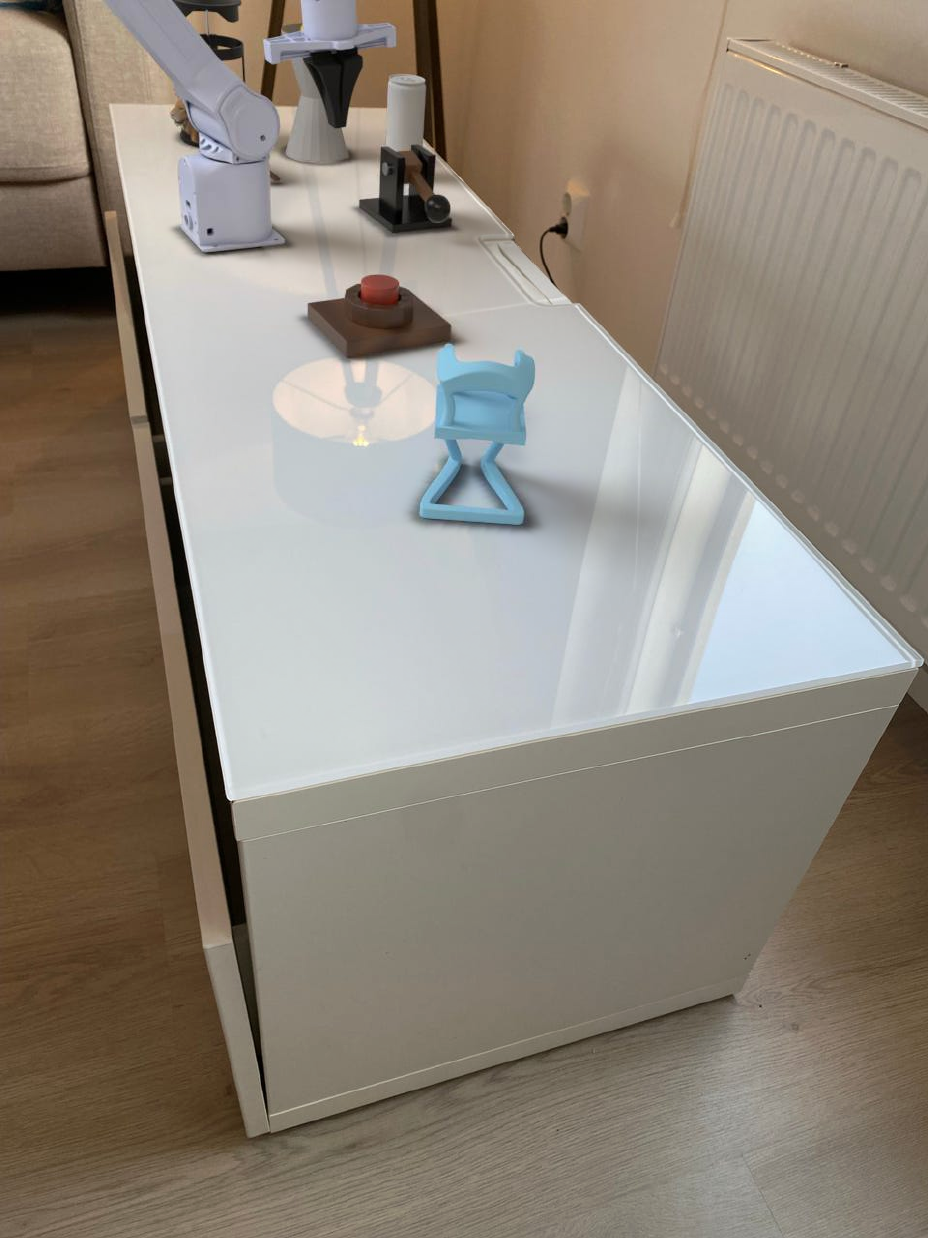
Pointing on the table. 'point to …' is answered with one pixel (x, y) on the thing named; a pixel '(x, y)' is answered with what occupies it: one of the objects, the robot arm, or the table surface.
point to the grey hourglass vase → (312, 120)
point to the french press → (215, 35)
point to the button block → (377, 323)
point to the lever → (425, 189)
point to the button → (379, 289)
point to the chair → (479, 428)
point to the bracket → (402, 194)
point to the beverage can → (405, 111)
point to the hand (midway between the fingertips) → (337, 125)
